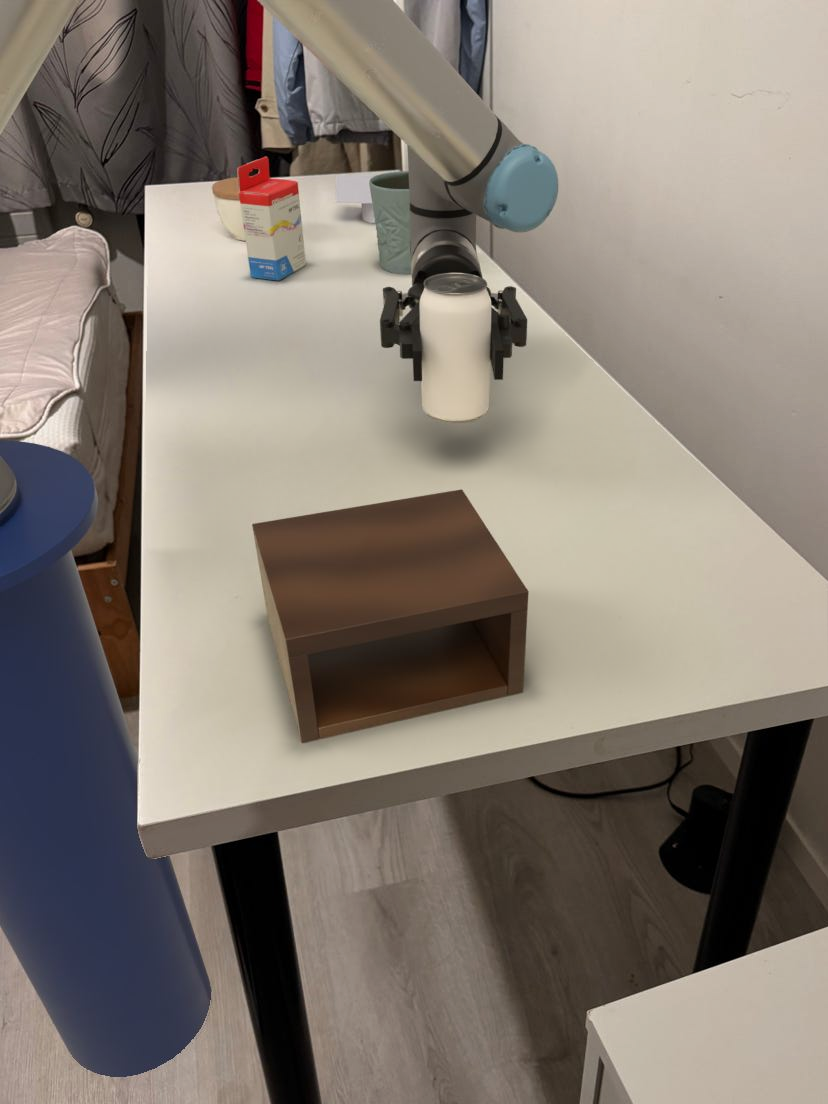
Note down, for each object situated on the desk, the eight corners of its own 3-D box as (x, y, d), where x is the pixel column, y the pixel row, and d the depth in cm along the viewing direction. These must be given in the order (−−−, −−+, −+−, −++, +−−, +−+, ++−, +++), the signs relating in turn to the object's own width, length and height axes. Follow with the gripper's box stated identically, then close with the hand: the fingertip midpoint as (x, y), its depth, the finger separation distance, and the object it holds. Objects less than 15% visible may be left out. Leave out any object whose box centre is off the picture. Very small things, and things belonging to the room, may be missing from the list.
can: (408, 408, 89) (403, 281, 82) (458, 389, 93) (458, 266, 85) (452, 431, 86) (452, 300, 78) (502, 411, 89) (507, 284, 82)
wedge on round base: (337, 224, 157) (413, 224, 157) (333, 181, 153) (412, 181, 153) (341, 209, 164) (414, 209, 164) (338, 168, 160) (413, 168, 160)
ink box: (279, 282, 134) (265, 171, 125) (249, 278, 135) (233, 167, 126) (307, 264, 140) (296, 157, 131) (278, 261, 141) (265, 154, 132)
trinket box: (281, 224, 157) (274, 163, 151) (291, 242, 149) (284, 179, 143) (216, 229, 154) (206, 167, 148) (223, 248, 146) (213, 183, 140)
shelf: (268, 621, 73) (251, 523, 67) (462, 584, 77) (462, 488, 71) (301, 743, 62) (285, 640, 57) (523, 692, 66) (528, 591, 61)
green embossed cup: (447, 257, 144) (446, 172, 136) (433, 278, 136) (431, 190, 128) (383, 253, 145) (379, 169, 137) (366, 273, 137) (360, 186, 130)
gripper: (535, 313, 102) (565, 404, 84) (357, 315, 101) (350, 407, 83) (539, 242, 97) (571, 322, 79) (353, 243, 96) (343, 324, 78)
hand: (458, 365), depth 81 cm, fingers closed on can, 6 cm apart
